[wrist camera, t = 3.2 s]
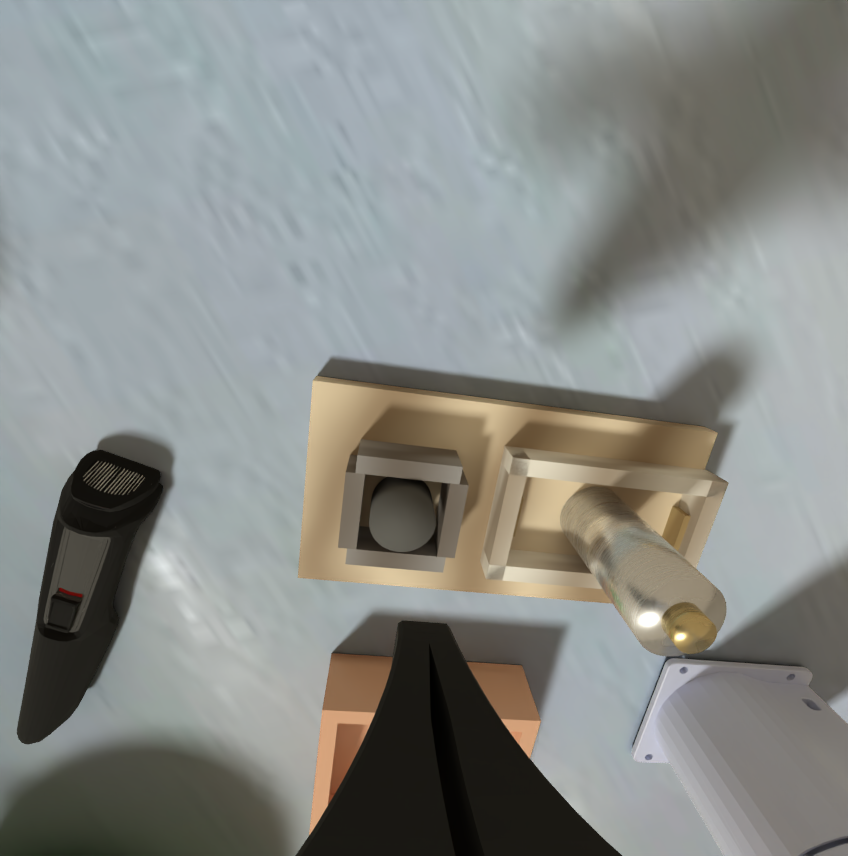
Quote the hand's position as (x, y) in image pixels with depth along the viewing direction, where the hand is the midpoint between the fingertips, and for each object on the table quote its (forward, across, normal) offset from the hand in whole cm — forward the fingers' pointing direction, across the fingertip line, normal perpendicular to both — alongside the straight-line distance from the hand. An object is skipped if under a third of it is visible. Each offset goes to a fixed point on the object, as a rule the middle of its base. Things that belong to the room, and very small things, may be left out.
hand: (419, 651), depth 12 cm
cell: (+9, -9, 0) cm, 13 cm away
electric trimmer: (+11, +15, +7) cm, 20 cm away
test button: (+9, 0, 0) cm, 9 cm away
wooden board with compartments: (+10, -5, 0) cm, 11 cm away
